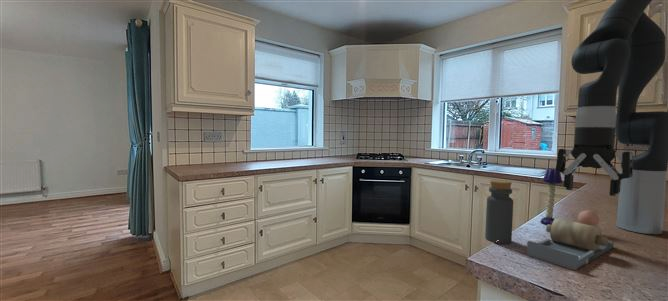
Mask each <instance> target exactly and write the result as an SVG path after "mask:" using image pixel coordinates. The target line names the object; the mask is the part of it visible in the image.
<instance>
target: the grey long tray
mask: <svg viewBox="0 0 668 301" xmlns="http://www.w3.org/2000/svg"><path fill="white" fill-rule="evenodd" d="M614 244H615V243H614V242H610V241H608V243H607V246H602V245H600V247H599V249H598V250H597V251H595V252H594V251H592V250H590V251H589V250H585V249H581V248H577V247H574V246H570V245H566V244H562V243H558V242H555V241H552V239H551V238H550V239H549V238H545V239H542V240H540V241H539V242H534V241H531V240H528V241H527V244H526V245H527V246H526V256H528V257H532V258H534V259H537V260H538V259H539V260H541V261H545V262H547V263H551V264H553V265H554V264H555V265H556V266H560V267H563V268H567V269H570V270H573V271H578V270H579V269H581V268H582V267H584V266H586V265H587V264H589V263H590V262H592V261H593V260H595V259H597V258H598V257H600V256H601V255H603V254H605V253H606V252H608V251H610V250H611V249H612V248H614Z"/></svg>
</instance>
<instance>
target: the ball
mask: <svg viewBox="0 0 668 301" xmlns="http://www.w3.org/2000/svg"><path fill="white" fill-rule="evenodd" d="M577 219H578V221H579V222H578V223H582V224H587V225H591V226H598V224H599V223H600V217H599V215H598V213H596V212H594V211H592V210H587V209H586V210H583V211H580V212H579V214H578V215H577Z"/></svg>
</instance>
